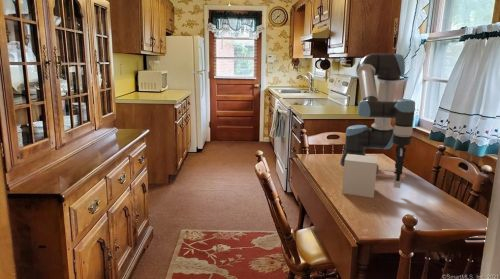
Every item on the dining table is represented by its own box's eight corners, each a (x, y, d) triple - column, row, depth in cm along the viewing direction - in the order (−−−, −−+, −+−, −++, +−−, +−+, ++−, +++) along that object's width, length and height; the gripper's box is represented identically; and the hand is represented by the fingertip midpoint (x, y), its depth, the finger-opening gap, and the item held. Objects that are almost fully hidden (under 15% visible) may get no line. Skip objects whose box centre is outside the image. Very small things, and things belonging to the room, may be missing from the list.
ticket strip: (350, 168, 177) (350, 166, 176) (404, 175, 169) (404, 173, 168) (349, 172, 171) (349, 170, 171) (405, 179, 163) (405, 176, 163)
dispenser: (344, 185, 182) (347, 153, 179) (376, 189, 177) (379, 157, 174) (341, 193, 171) (344, 159, 168) (375, 197, 166) (379, 163, 163)
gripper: (392, 130, 173) (387, 177, 178) (393, 138, 155) (387, 190, 160) (410, 132, 170) (404, 179, 175) (412, 140, 153) (406, 193, 158)
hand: (396, 184), depth 168 cm, fingers closed on ticket strip, 6 cm apart
